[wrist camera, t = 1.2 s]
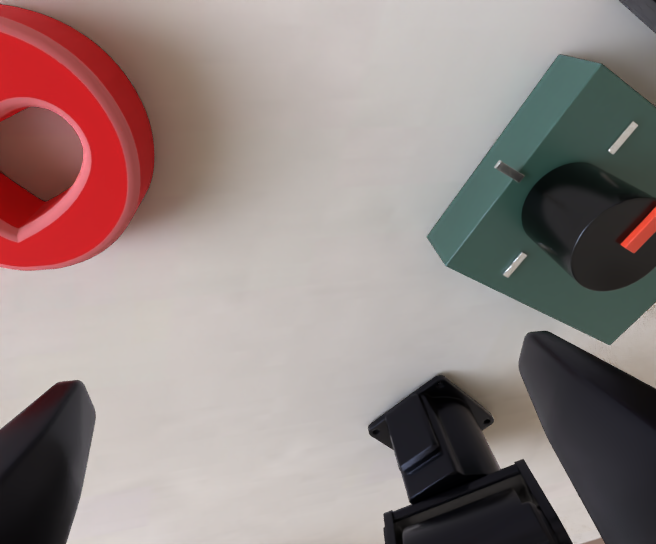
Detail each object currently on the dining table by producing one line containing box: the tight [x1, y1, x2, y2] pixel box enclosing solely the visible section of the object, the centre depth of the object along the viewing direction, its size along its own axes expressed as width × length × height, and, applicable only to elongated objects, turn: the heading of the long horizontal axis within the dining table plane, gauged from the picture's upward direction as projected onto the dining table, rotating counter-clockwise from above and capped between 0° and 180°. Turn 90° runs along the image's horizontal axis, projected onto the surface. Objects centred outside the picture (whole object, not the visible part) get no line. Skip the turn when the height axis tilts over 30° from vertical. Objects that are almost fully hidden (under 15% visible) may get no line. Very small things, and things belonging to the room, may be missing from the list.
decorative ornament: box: [0, 4, 154, 271], centre depth 18 cm, size 10×10×3 cm
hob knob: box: [521, 162, 656, 292], centre depth 19 cm, size 4×4×4 cm
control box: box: [427, 54, 656, 345], centre depth 23 cm, size 10×13×3 cm
